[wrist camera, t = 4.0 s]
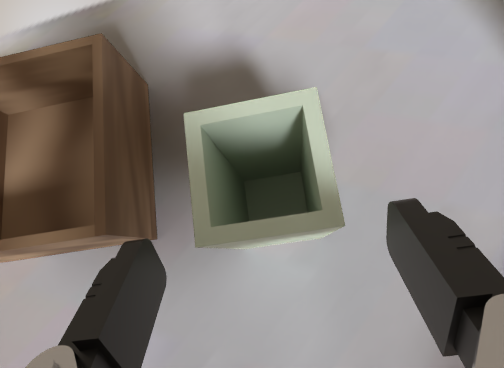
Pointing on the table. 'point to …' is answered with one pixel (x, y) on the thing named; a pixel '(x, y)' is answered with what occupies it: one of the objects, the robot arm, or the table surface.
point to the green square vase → (261, 172)
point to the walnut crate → (73, 151)
